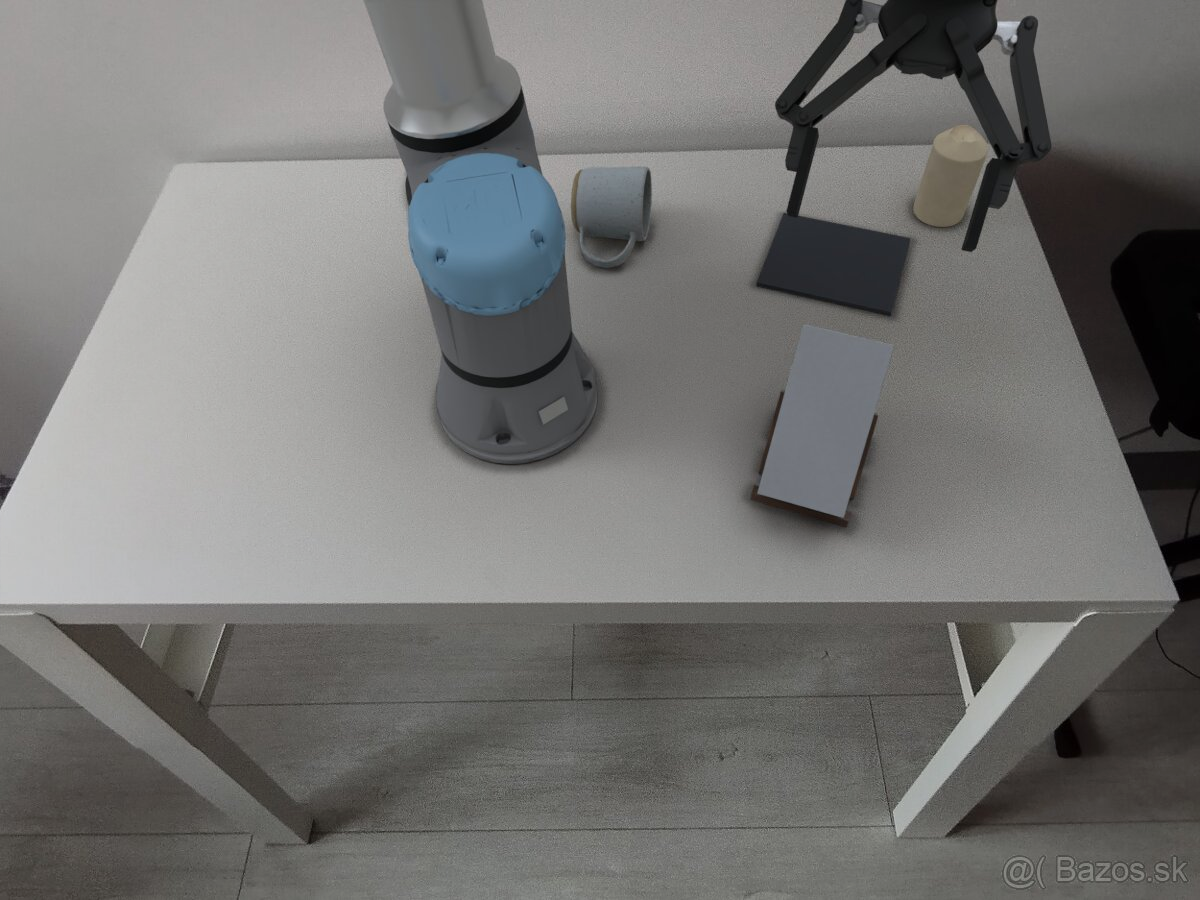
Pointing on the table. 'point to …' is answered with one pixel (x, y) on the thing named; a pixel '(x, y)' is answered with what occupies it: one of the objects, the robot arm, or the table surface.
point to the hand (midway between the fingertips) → (877, 232)
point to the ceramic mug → (612, 207)
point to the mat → (835, 263)
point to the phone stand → (798, 508)
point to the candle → (950, 176)
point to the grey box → (825, 419)
